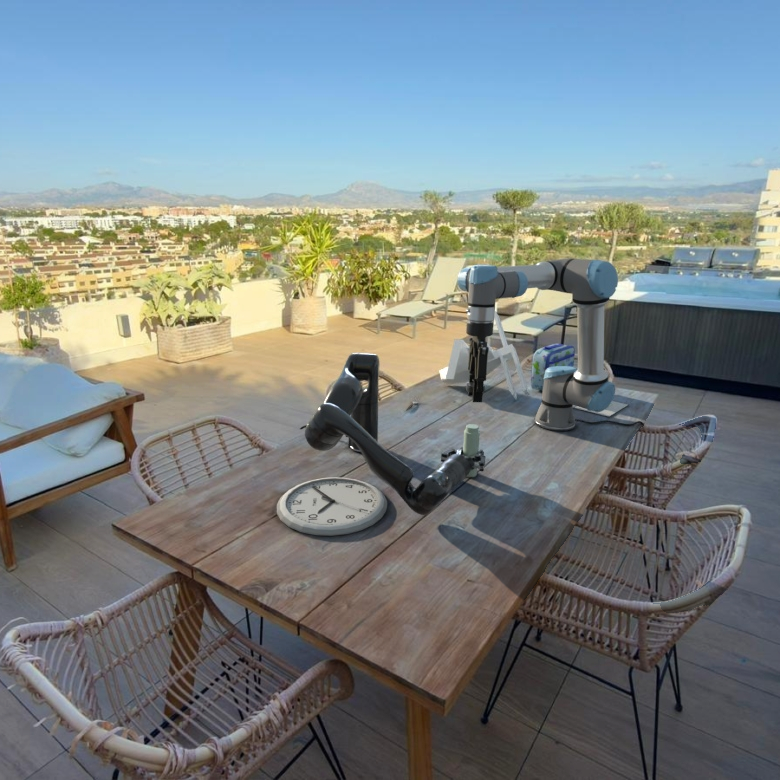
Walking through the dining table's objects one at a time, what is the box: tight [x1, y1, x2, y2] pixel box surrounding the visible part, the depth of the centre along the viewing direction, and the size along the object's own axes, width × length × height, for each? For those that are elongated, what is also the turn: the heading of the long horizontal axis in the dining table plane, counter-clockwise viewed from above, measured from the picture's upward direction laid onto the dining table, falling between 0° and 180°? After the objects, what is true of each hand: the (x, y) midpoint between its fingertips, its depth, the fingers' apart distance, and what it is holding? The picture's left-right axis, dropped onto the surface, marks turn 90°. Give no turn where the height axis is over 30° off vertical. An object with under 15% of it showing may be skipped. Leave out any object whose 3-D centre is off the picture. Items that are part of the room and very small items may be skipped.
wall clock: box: [276, 476, 388, 537], centre depth 142 cm, size 30×2×30 cm
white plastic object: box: [438, 310, 531, 400], centre depth 245 cm, size 37×45×31 cm
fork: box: [405, 396, 421, 411], centre depth 222 cm, size 3×16×2 cm, turn 160°
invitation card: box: [573, 400, 629, 418], centre depth 226 cm, size 21×1×15 cm
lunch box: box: [530, 343, 576, 391], centre depth 249 cm, size 26×11×21 cm, turn 134°
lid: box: [466, 382, 486, 393], centre depth 154 cm, size 5×5×2 cm
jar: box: [462, 423, 481, 478], centre depth 160 cm, size 5×5×16 cm
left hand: (473, 450), depth 163 cm, fingers closed on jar, 4 cm apart
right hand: (475, 398), depth 155 cm, fingers closed on lid, 5 cm apart
